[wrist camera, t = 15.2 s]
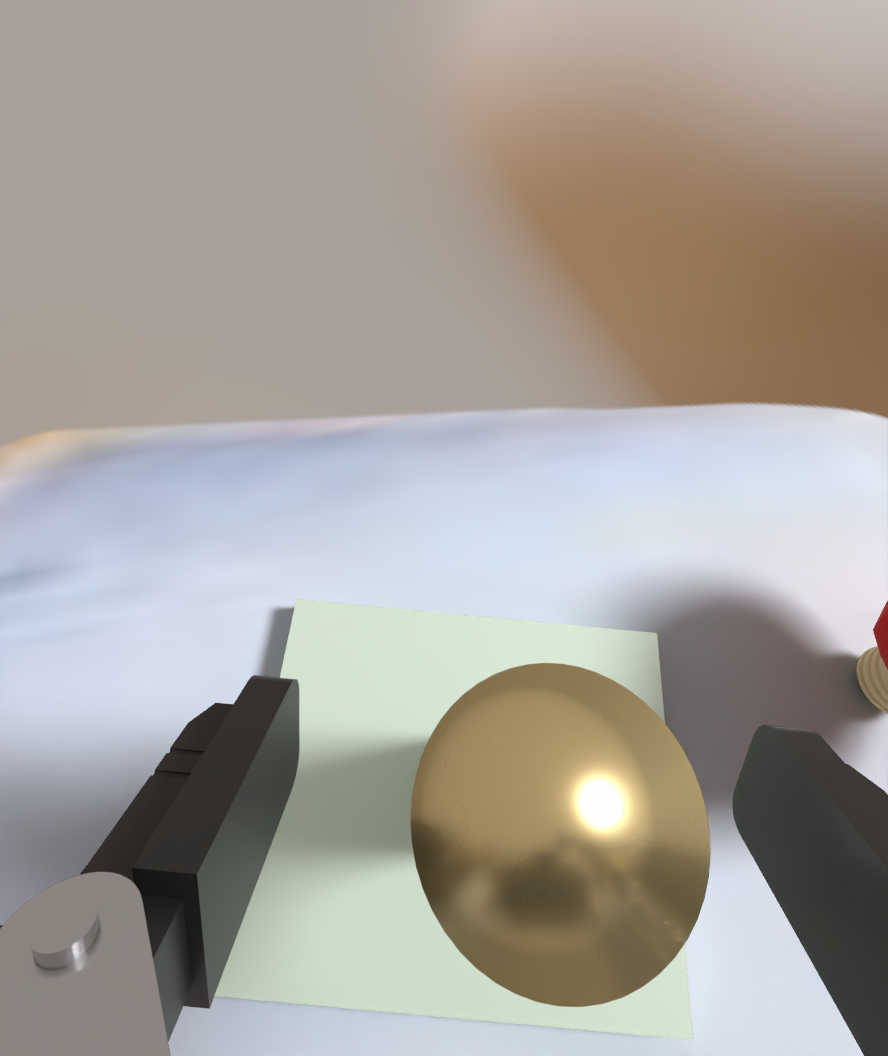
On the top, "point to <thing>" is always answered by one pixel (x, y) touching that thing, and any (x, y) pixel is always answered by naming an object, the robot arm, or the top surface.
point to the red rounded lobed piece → (876, 666)
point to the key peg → (560, 835)
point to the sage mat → (405, 821)
